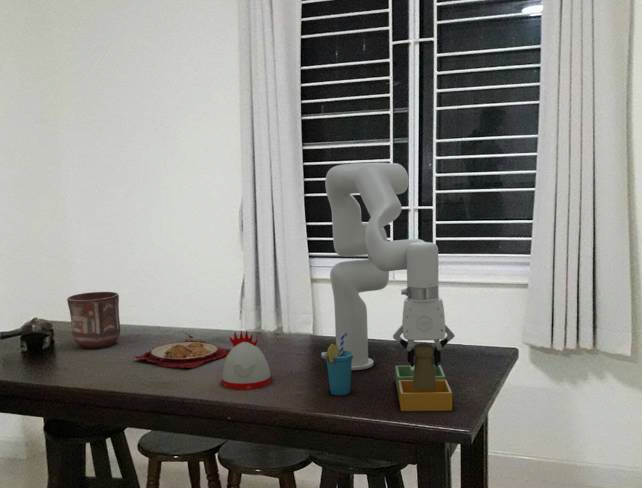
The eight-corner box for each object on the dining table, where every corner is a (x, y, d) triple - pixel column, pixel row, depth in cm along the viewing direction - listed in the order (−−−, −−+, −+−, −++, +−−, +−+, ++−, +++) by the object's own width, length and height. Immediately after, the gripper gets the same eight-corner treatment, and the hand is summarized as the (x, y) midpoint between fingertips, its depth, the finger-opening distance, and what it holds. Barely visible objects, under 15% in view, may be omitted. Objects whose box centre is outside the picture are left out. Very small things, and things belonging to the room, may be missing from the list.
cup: (333, 383, 212) (332, 330, 209) (361, 384, 209) (359, 331, 206) (319, 398, 199) (317, 342, 196) (348, 400, 196) (346, 343, 194)
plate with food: (132, 362, 247) (131, 351, 246) (187, 343, 267) (186, 333, 266) (185, 372, 232) (184, 361, 232) (239, 351, 252) (238, 341, 251)
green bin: (397, 393, 199) (397, 377, 199) (395, 381, 210) (395, 365, 210) (445, 393, 198) (445, 376, 197) (440, 380, 209) (440, 365, 208)
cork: (437, 390, 186) (436, 347, 184) (411, 390, 187) (411, 347, 186) (436, 383, 192) (435, 341, 190) (412, 383, 193) (411, 341, 191)
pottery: (82, 339, 283) (78, 292, 280) (128, 338, 280) (124, 290, 277) (64, 351, 265) (59, 301, 262) (112, 350, 263) (108, 299, 260)
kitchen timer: (224, 376, 224) (221, 326, 222) (271, 374, 224) (268, 324, 221) (220, 390, 211) (217, 337, 208) (270, 388, 210) (267, 335, 207)
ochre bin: (401, 411, 186) (400, 393, 185) (398, 397, 197) (398, 380, 196) (452, 410, 184) (452, 392, 183) (446, 396, 195) (446, 379, 194)
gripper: (388, 297, 183) (389, 369, 186) (460, 294, 181) (461, 368, 184) (386, 291, 190) (388, 361, 194) (456, 289, 188) (457, 360, 191)
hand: (424, 364), depth 189 cm, fingers closed on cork, 5 cm apart
